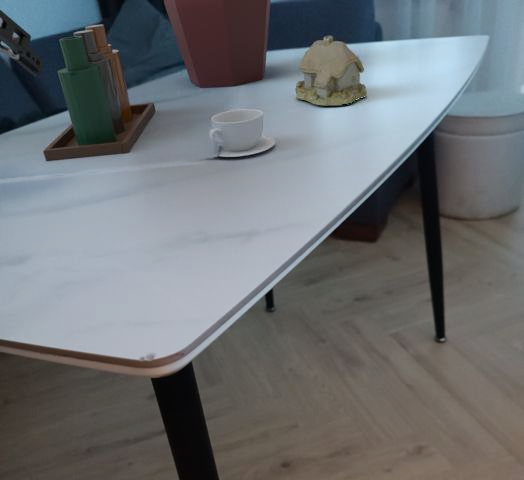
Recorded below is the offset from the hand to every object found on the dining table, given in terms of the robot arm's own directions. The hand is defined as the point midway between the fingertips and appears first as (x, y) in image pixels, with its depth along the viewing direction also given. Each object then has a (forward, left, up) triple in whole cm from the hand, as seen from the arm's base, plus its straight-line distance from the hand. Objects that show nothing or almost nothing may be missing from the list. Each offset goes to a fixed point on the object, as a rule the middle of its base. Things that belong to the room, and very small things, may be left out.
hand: (17, 70), depth 79 cm
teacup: (+28, +2, -14) cm, 31 cm away
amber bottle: (+5, +24, -13) cm, 28 cm away
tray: (+5, +16, -14) cm, 22 cm away
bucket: (+23, +56, -14) cm, 62 cm away
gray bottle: (+5, +17, -13) cm, 22 cm away
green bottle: (+5, +10, -13) cm, 17 cm away
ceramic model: (+43, +28, -14) cm, 53 cm away
